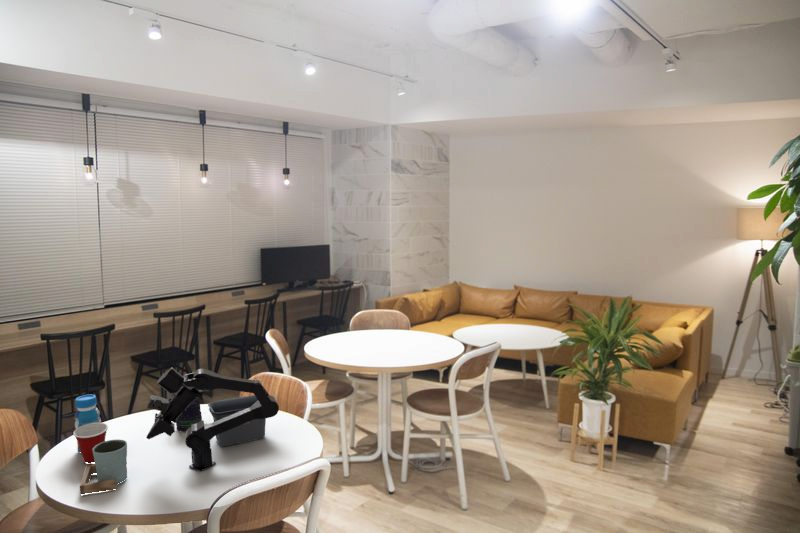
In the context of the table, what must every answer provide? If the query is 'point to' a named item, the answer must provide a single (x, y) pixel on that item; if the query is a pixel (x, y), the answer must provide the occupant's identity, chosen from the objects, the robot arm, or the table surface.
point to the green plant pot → (111, 460)
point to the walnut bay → (95, 486)
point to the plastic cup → (90, 438)
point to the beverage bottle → (86, 411)
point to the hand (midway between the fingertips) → (147, 438)
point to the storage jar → (189, 415)
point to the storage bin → (244, 431)
